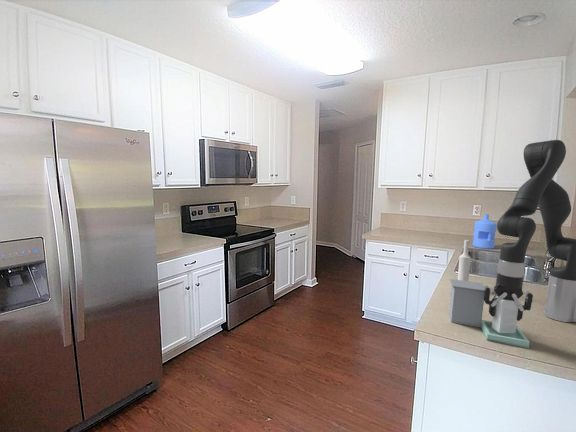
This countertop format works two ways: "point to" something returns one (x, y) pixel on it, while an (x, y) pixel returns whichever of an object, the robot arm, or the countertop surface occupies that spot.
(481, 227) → the water jug
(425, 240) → the countertop surface
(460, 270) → the bottle
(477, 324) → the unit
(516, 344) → the tray
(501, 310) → the skincare box
